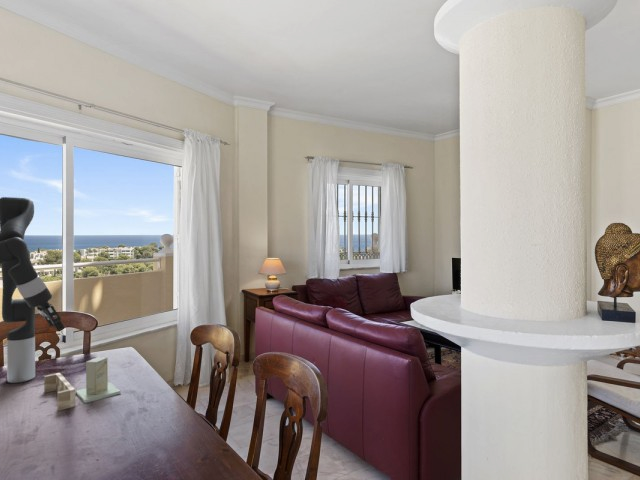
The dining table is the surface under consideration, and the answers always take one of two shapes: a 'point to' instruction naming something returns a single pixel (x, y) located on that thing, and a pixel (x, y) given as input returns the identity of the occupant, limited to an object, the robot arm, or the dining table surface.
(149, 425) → the dining table surface
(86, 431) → the dining table surface
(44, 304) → the robot arm
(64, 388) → the beige long angular piece
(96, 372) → the skincare box
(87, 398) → the sage tile
